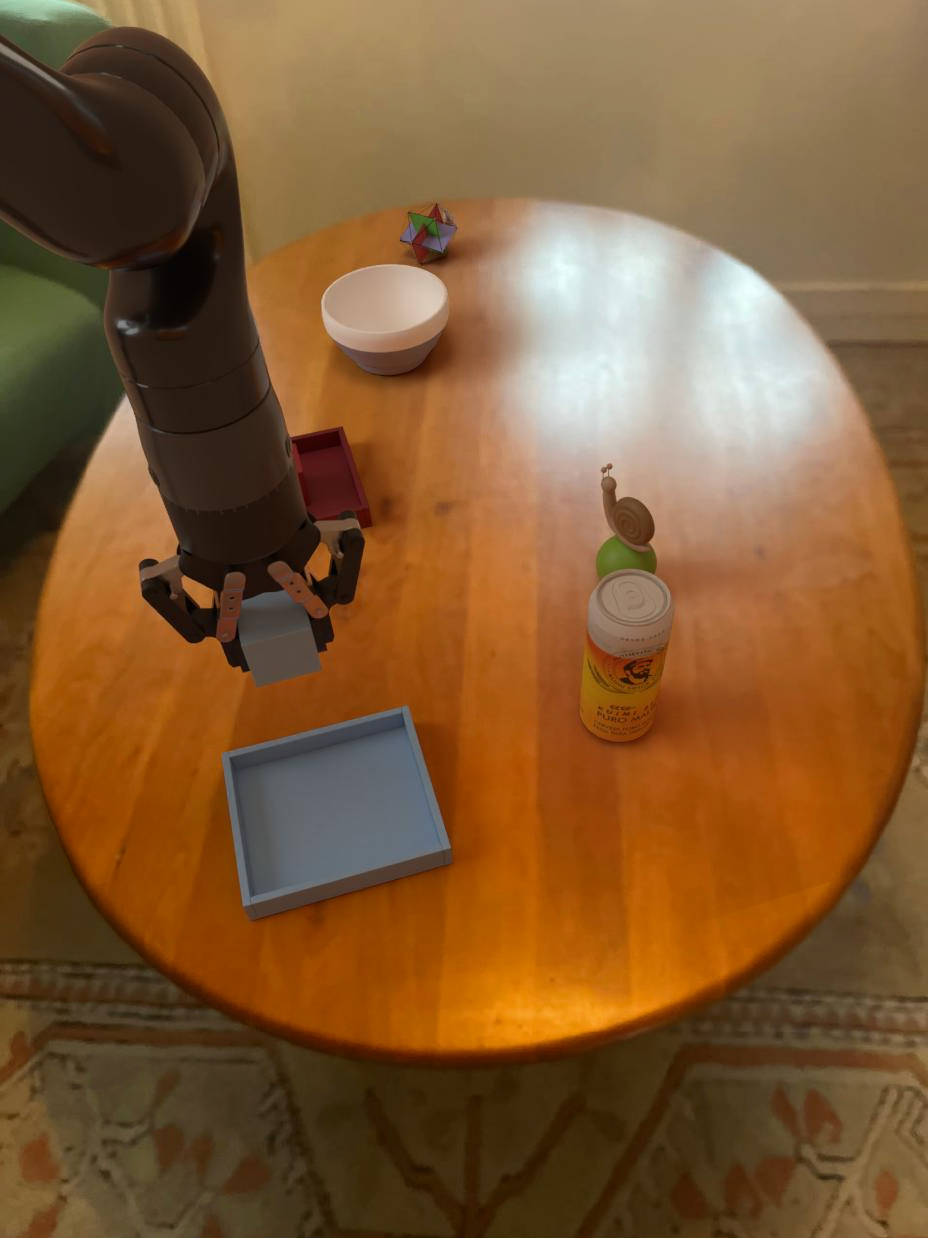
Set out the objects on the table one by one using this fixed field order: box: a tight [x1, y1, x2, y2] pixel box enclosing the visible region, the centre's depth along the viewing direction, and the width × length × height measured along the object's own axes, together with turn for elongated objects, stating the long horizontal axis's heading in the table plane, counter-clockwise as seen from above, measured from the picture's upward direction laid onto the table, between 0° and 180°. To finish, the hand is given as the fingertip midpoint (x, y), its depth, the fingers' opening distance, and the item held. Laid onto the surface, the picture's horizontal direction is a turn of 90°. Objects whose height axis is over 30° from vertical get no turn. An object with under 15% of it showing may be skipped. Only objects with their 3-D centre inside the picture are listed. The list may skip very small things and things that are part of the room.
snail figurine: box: [595, 463, 658, 581], centre depth 84 cm, size 5×6×12 cm
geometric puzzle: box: [398, 202, 459, 266], centre depth 124 cm, size 7×7×8 cm
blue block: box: [237, 590, 323, 688], centre depth 63 cm, size 4×4×4 cm
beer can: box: [578, 569, 676, 743], centre depth 73 cm, size 6×6×15 cm
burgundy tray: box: [290, 425, 373, 529], centre depth 96 cm, size 15×13×2 cm
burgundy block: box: [292, 444, 310, 506], centre depth 95 cm, size 4×4×4 cm
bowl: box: [320, 263, 450, 376], centre depth 110 cm, size 14×14×8 cm
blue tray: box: [221, 704, 454, 921], centre depth 73 cm, size 15×13×2 cm
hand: (282, 651), depth 65 cm, fingers closed on blue block, 4 cm apart
